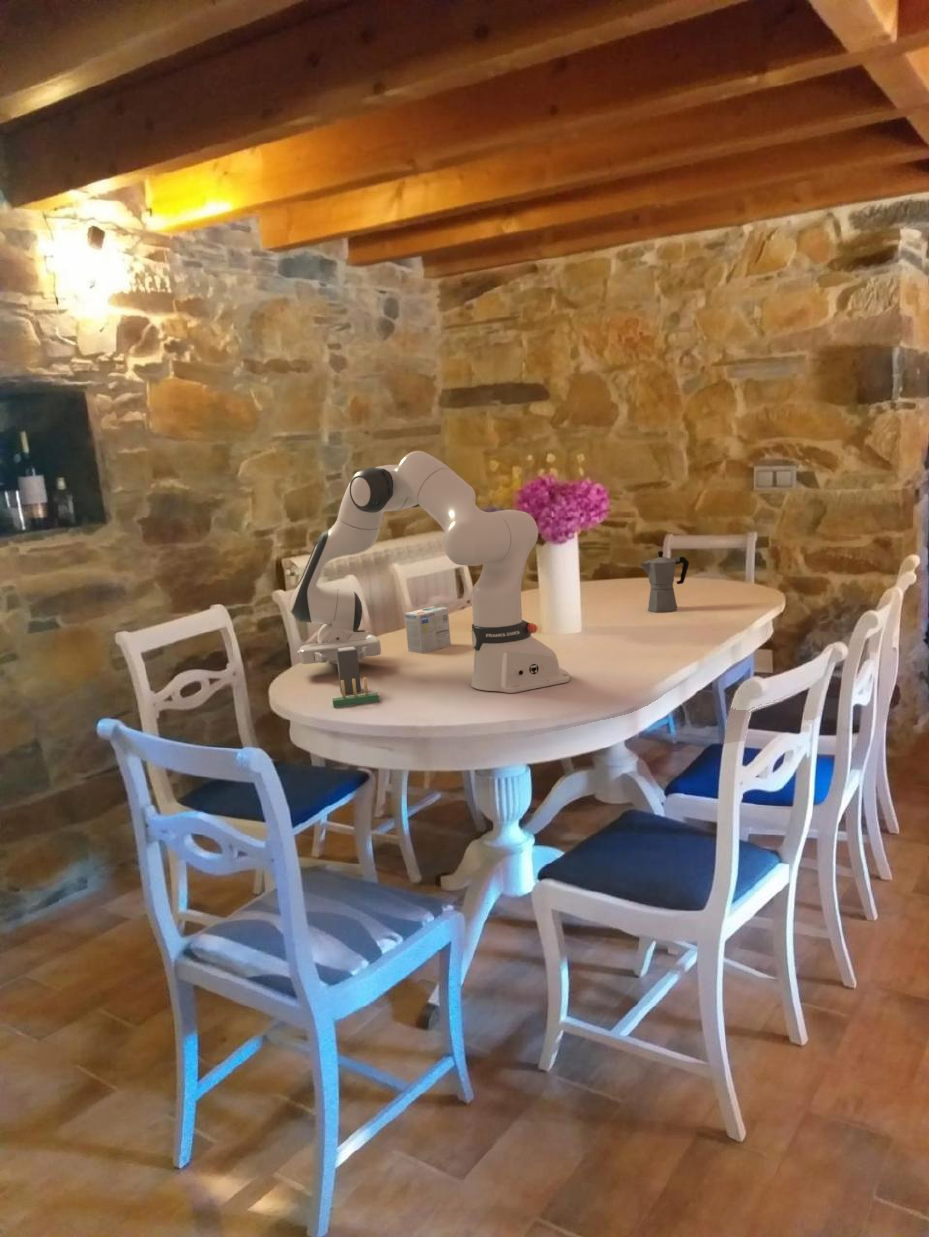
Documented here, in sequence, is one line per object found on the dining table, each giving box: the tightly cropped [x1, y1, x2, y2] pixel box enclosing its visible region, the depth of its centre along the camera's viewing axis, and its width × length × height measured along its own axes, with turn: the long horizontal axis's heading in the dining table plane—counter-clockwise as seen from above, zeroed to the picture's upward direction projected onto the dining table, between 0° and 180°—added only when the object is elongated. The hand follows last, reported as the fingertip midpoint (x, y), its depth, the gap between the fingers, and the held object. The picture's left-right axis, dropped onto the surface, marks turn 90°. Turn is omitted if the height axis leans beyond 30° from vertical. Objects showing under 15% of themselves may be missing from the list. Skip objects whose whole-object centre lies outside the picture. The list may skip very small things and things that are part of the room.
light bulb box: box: [404, 605, 452, 654], centre depth 255 cm, size 11×7×11 cm, turn 135°
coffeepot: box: [639, 550, 690, 614], centre depth 282 cm, size 15×9×18 cm, turn 100°
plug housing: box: [336, 647, 362, 695], centre depth 216 cm, size 4×4×10 cm
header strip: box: [332, 676, 380, 708], centre depth 206 cm, size 10×2×6 cm, turn 103°
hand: (342, 657), depth 227 cm, fingers open, 8 cm apart
